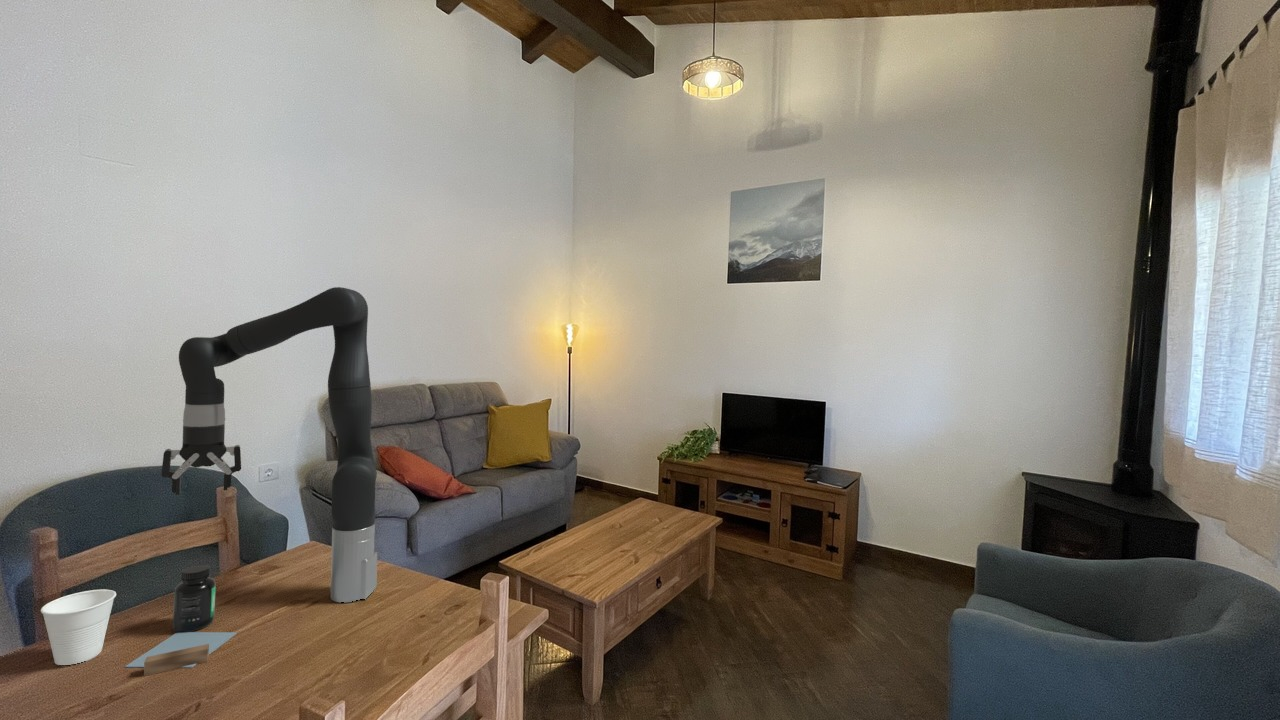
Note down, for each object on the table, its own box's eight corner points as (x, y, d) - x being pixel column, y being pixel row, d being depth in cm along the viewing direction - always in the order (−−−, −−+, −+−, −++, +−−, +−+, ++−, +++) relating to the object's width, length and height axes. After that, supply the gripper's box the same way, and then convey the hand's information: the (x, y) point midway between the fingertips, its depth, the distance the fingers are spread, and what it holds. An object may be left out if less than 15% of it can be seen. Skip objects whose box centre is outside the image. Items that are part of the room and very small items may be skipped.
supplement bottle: (222, 619, 116) (224, 565, 116) (190, 635, 109) (193, 577, 110) (196, 615, 117) (199, 561, 118) (163, 630, 111) (166, 573, 111)
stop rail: (208, 656, 103) (209, 643, 103) (207, 661, 101) (207, 648, 101) (146, 670, 98) (146, 657, 98) (143, 676, 96) (144, 662, 96)
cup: (65, 677, 95) (66, 617, 95) (24, 668, 97) (25, 609, 97) (128, 647, 105) (130, 592, 104) (90, 640, 107) (91, 586, 106)
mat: (237, 633, 111) (237, 632, 111) (191, 667, 99) (192, 666, 99) (177, 632, 110) (177, 632, 110) (124, 667, 98) (124, 666, 98)
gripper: (161, 426, 116) (159, 500, 116) (242, 423, 124) (240, 492, 124) (165, 422, 121) (163, 492, 122) (242, 419, 130) (240, 484, 130)
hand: (202, 491), depth 123 cm, fingers open, 8 cm apart
